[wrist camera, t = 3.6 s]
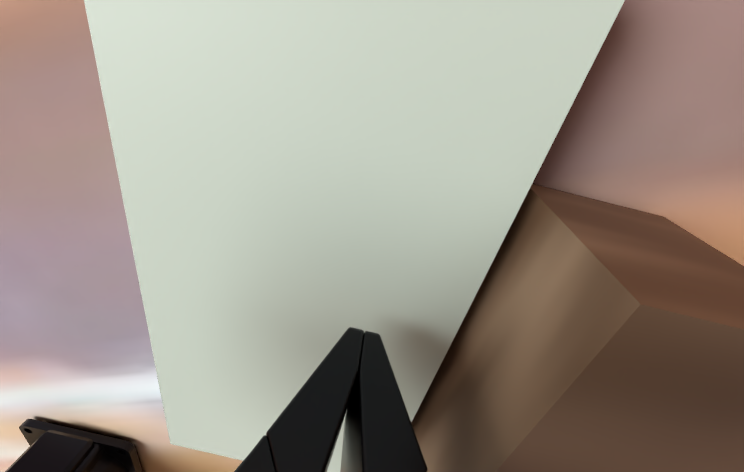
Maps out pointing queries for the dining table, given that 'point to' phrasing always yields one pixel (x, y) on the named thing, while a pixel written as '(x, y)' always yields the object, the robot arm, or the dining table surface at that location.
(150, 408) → the dining table surface
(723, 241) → the dining table surface
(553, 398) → the folding leg
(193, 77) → the pale green flat block
